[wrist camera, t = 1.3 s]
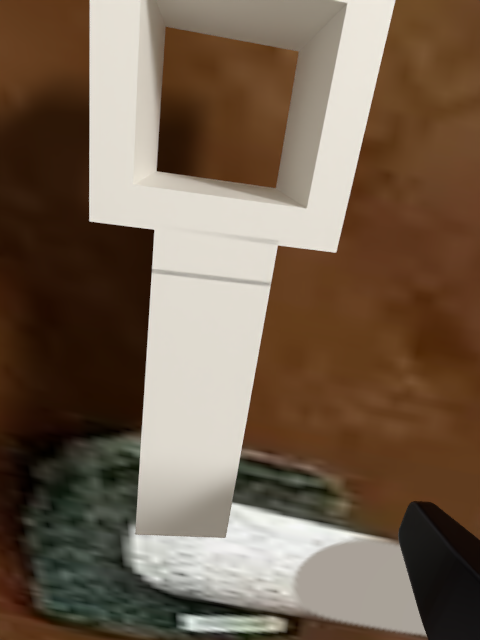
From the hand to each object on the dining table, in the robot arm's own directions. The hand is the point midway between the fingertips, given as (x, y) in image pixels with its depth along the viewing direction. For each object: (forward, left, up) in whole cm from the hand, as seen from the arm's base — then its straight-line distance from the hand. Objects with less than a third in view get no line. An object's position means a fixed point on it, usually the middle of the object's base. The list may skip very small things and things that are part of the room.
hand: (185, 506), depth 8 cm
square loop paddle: (0, +3, -10) cm, 11 cm away
